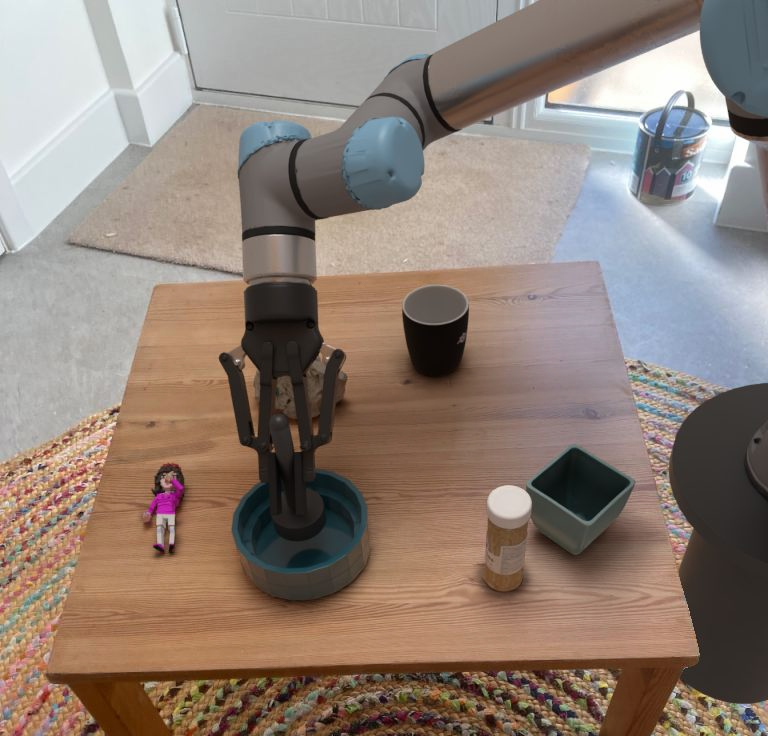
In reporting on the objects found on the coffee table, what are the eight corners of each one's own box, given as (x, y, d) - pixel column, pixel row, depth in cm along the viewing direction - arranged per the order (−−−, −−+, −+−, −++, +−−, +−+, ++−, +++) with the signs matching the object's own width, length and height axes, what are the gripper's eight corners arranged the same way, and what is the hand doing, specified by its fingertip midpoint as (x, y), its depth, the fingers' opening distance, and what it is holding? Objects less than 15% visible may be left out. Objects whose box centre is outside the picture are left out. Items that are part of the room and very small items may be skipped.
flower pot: (625, 531, 99) (638, 480, 92) (578, 576, 95) (588, 526, 88) (565, 493, 103) (573, 441, 96) (518, 534, 99) (523, 484, 92)
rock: (240, 414, 114) (253, 355, 107) (256, 387, 118) (269, 329, 111) (325, 445, 114) (343, 389, 107) (337, 417, 119) (355, 361, 112)
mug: (465, 385, 117) (466, 326, 109) (401, 382, 118) (397, 323, 110) (471, 330, 124) (473, 271, 116) (411, 328, 125) (408, 269, 118)
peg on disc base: (335, 510, 96) (318, 405, 84) (309, 548, 93) (288, 445, 81) (290, 494, 98) (267, 389, 86) (263, 531, 95) (235, 427, 82)
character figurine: (191, 554, 102) (193, 474, 108) (179, 532, 97) (181, 450, 104) (144, 560, 102) (149, 480, 108) (130, 539, 97) (136, 456, 104)
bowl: (388, 580, 96) (385, 548, 92) (258, 621, 94) (248, 590, 89) (349, 486, 106) (344, 453, 101) (230, 521, 103) (219, 489, 99)
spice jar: (478, 564, 97) (482, 487, 87) (517, 557, 97) (525, 479, 87) (488, 596, 94) (493, 521, 84) (528, 589, 94) (538, 513, 84)
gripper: (356, 289, 90) (362, 509, 92) (217, 294, 91) (227, 512, 93) (349, 276, 82) (356, 515, 84) (198, 282, 83) (209, 518, 85)
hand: (288, 513), depth 89 cm, fingers closed on peg on disc base, 2 cm apart
